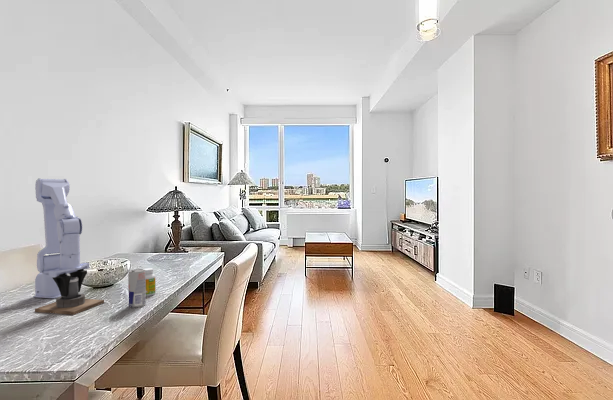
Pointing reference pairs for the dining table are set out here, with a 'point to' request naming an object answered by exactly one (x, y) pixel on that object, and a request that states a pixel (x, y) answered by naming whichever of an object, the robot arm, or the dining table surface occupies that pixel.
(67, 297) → the lens
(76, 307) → the mount
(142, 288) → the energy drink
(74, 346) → the dining table surface
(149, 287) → the supplement bottle
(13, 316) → the dining table surface
